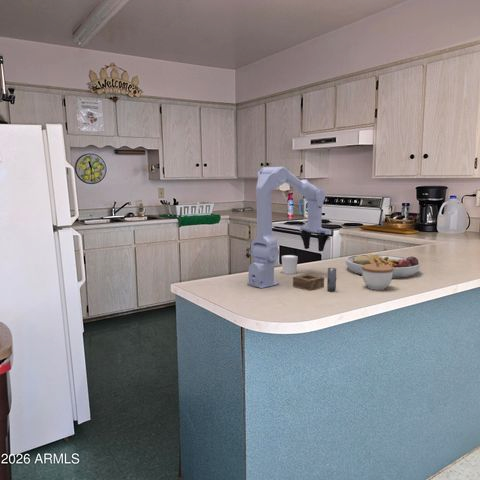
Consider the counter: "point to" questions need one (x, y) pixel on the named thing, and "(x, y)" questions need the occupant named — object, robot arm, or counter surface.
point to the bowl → (399, 264)
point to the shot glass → (289, 264)
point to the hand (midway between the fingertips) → (313, 249)
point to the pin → (331, 280)
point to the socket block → (308, 282)
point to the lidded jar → (377, 275)
